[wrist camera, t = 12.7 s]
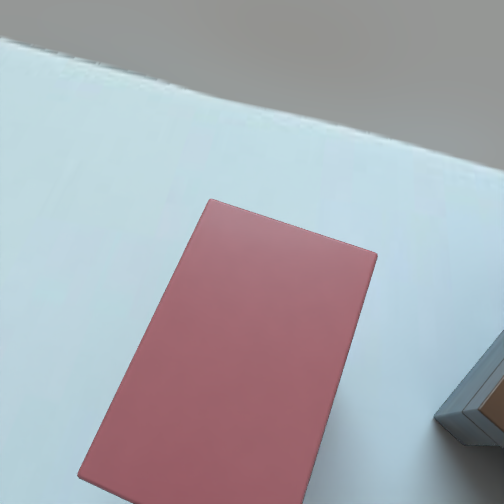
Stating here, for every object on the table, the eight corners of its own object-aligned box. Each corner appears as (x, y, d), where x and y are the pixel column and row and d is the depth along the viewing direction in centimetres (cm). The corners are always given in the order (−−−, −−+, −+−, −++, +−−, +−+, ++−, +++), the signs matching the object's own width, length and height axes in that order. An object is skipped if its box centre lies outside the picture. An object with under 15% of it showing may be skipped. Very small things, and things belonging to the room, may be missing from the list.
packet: (274, 500, 16) (281, 576, 7) (180, 459, 17) (72, 477, 7) (323, 350, 18) (380, 251, 9) (238, 318, 19) (208, 195, 9)
